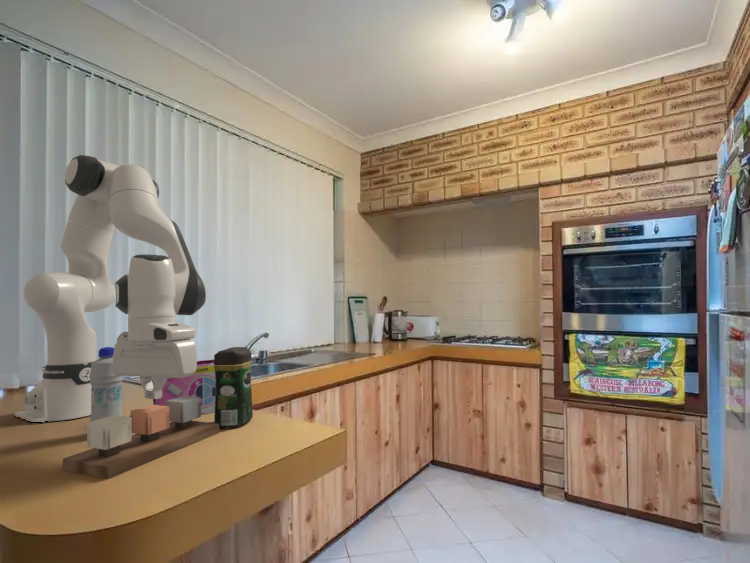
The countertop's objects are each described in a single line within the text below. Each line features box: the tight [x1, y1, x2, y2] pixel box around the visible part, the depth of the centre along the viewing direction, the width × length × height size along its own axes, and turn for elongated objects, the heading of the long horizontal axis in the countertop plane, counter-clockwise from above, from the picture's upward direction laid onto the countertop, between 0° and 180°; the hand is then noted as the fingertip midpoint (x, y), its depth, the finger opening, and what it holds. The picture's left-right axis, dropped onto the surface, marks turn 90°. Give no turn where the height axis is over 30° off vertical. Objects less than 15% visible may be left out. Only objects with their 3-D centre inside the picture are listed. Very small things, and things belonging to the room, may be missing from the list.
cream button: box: [86, 415, 133, 450], centre depth 76 cm, size 5×5×4 cm
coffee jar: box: [213, 346, 254, 429], centre depth 101 cm, size 10×8×19 cm
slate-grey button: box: [166, 396, 202, 423], centre depth 92 cm, size 5×5×4 cm
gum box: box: [152, 359, 216, 416], centre depth 113 cm, size 24×8×14 cm, turn 127°
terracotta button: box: [129, 404, 170, 435], centre depth 84 cm, size 5×5×4 cm
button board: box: [62, 420, 220, 480], centre depth 84 cm, size 12×26×6 cm, turn 158°
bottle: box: [89, 346, 124, 422], centre depth 95 cm, size 7×7×20 cm
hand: (153, 398), depth 84 cm, fingers closed
